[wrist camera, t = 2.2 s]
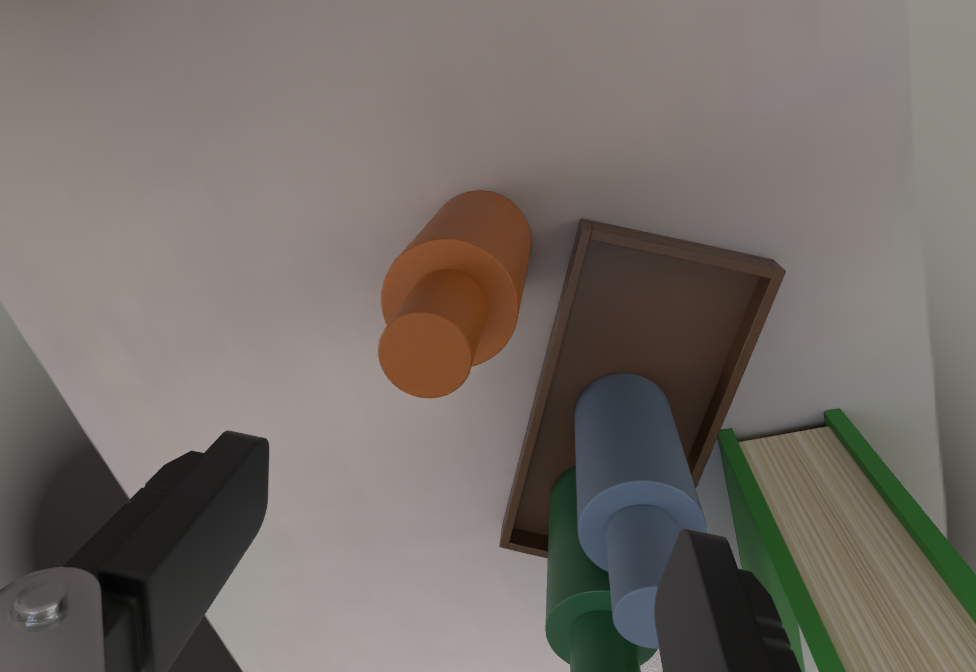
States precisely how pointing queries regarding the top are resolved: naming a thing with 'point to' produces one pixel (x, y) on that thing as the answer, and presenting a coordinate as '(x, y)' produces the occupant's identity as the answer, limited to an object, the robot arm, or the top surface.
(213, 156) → the top surface
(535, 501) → the tray
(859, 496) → the hardback book
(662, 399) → the slate bottle
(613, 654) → the green bottle
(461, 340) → the amber bottle
